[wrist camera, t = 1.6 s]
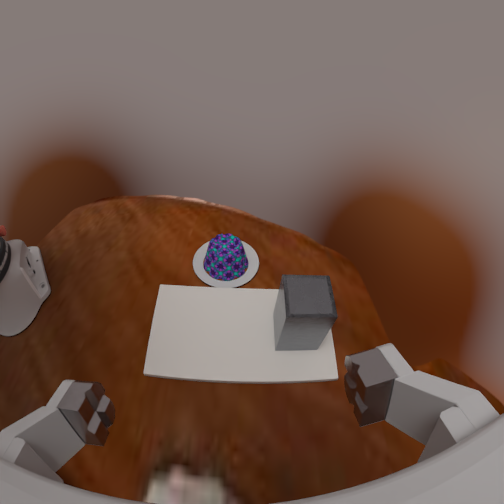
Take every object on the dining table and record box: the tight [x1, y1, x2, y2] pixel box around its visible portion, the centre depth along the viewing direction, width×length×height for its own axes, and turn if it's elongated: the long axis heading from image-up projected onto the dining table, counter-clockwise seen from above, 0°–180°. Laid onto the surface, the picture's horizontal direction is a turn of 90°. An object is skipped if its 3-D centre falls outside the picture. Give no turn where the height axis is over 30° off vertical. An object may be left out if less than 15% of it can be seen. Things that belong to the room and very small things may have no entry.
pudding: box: [193, 234, 259, 288], centre depth 51 cm, size 12×12×5 cm
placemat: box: [143, 285, 338, 384], centre depth 42 cm, size 28×16×1 cm, turn 90°
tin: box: [273, 275, 337, 351], centre depth 39 cm, size 6×6×10 cm
